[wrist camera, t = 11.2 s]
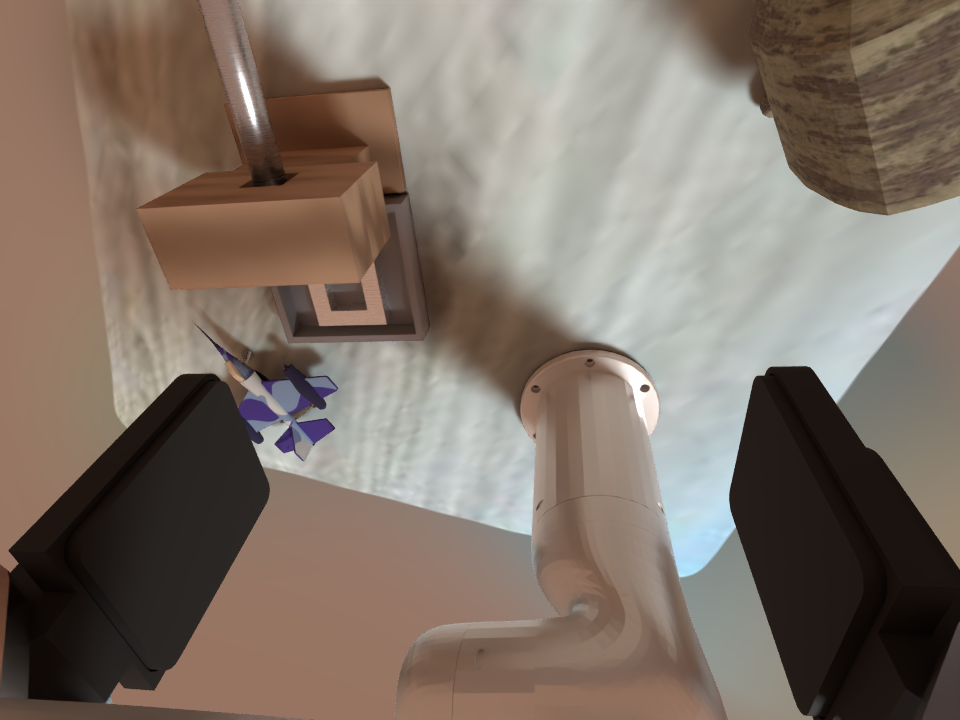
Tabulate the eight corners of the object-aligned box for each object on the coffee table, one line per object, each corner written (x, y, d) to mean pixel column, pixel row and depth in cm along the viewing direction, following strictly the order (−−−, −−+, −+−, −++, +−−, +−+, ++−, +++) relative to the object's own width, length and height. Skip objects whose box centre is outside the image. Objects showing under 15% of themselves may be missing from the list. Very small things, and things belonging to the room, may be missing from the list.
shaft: (317, 229, 37) (268, 277, 30) (267, 231, 37) (209, 280, 31) (198, -232, 25) (80, -305, 19) (128, -219, 26) (-9, -286, 19)
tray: (429, 325, 49) (424, 340, 47) (299, 328, 51) (288, 343, 49) (408, 193, 43) (401, 203, 41) (260, 202, 45) (246, 212, 43)
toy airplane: (205, 305, 51) (184, 325, 48) (354, 348, 52) (343, 370, 49) (206, 411, 58) (188, 433, 55) (337, 447, 59) (325, 471, 56)
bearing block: (409, 207, 43) (359, 282, 32) (265, 215, 45) (170, 289, 34) (390, 87, 39) (323, 126, 28) (230, 101, 41) (107, 143, 29)
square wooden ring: (377, 251, 45) (390, 316, 48) (307, 254, 46) (325, 318, 49) (373, 258, 44) (386, 324, 47) (301, 261, 45) (319, 325, 48)
